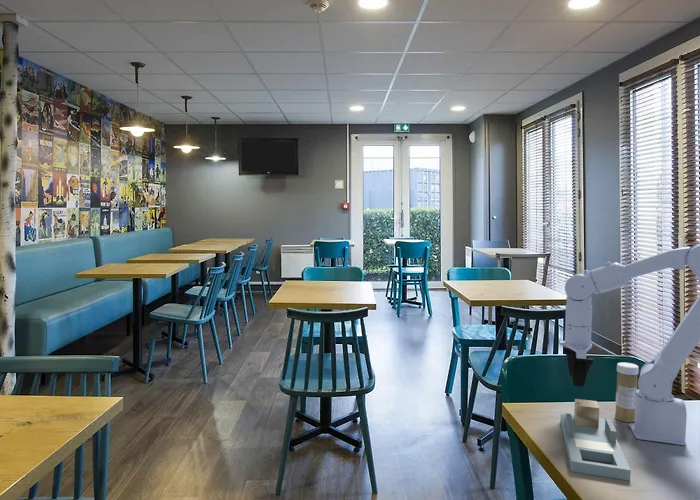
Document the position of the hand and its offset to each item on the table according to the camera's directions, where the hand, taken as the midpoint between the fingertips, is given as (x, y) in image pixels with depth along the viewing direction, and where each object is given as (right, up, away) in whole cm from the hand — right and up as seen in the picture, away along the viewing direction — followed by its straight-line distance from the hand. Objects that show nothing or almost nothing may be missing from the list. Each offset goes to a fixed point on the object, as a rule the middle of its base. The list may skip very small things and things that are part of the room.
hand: (576, 380), depth 120 cm
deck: (-3, -10, -14) cm, 18 cm away
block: (-1, -8, -7) cm, 10 cm away
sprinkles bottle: (+12, -10, +1) cm, 16 cm away
